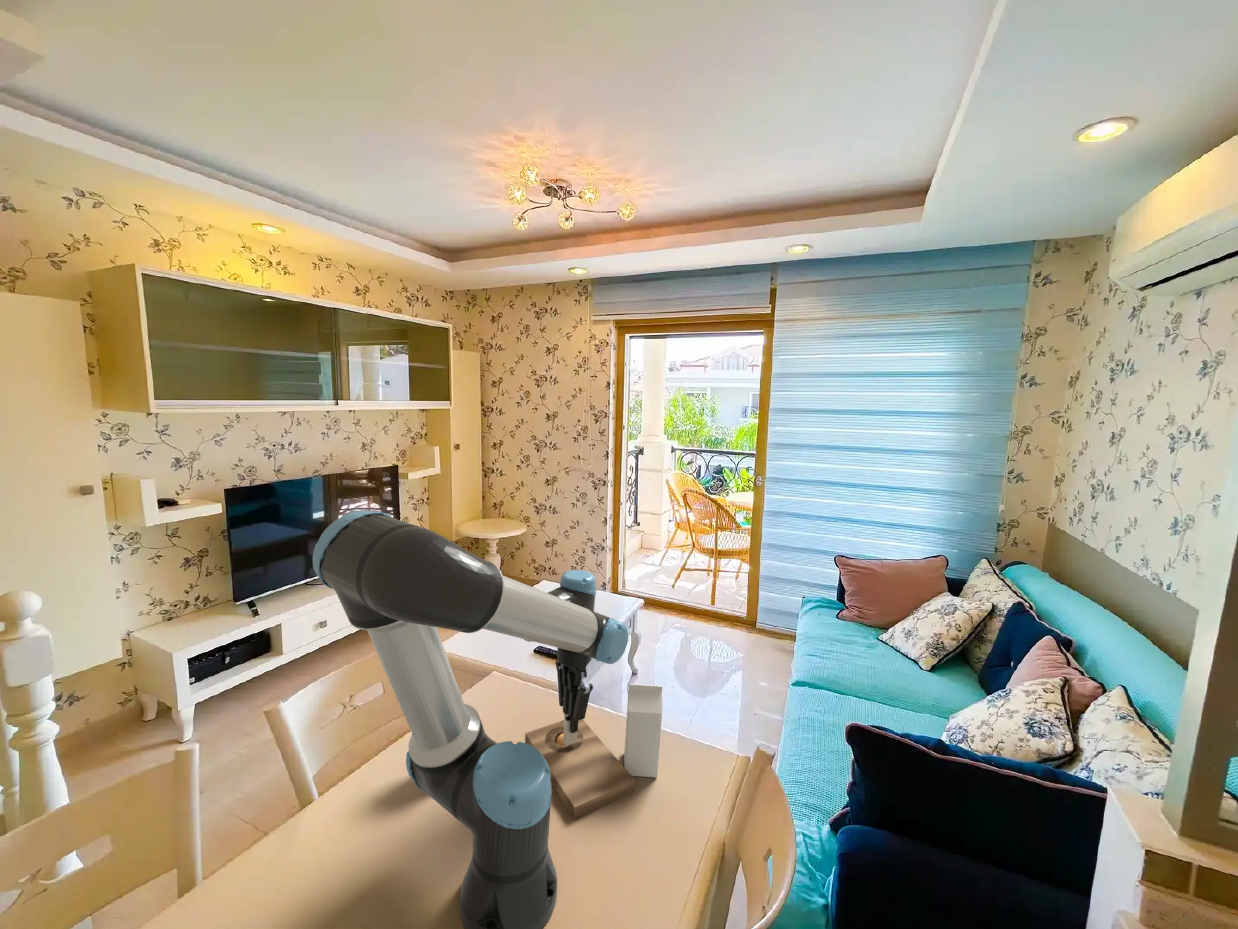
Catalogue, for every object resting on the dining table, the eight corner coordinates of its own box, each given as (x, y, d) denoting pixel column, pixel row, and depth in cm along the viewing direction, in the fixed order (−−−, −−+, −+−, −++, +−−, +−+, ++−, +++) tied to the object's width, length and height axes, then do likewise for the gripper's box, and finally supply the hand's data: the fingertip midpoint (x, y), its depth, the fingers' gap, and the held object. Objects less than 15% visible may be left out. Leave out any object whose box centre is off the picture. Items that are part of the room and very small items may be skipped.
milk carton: (657, 778, 107) (663, 696, 104) (623, 776, 107) (629, 694, 104) (655, 754, 114) (661, 677, 111) (624, 752, 114) (629, 675, 111)
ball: (563, 754, 111) (555, 739, 112) (560, 755, 114) (552, 740, 115) (576, 744, 113) (568, 729, 114) (573, 745, 115) (565, 730, 116)
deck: (634, 791, 103) (634, 780, 103) (574, 819, 95) (574, 807, 95) (578, 724, 123) (578, 714, 122) (524, 743, 115) (525, 733, 115)
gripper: (605, 651, 105) (599, 754, 108) (575, 626, 115) (571, 720, 118) (574, 660, 101) (568, 767, 104) (546, 633, 111) (542, 730, 114)
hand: (570, 742), depth 111 cm, fingers closed
